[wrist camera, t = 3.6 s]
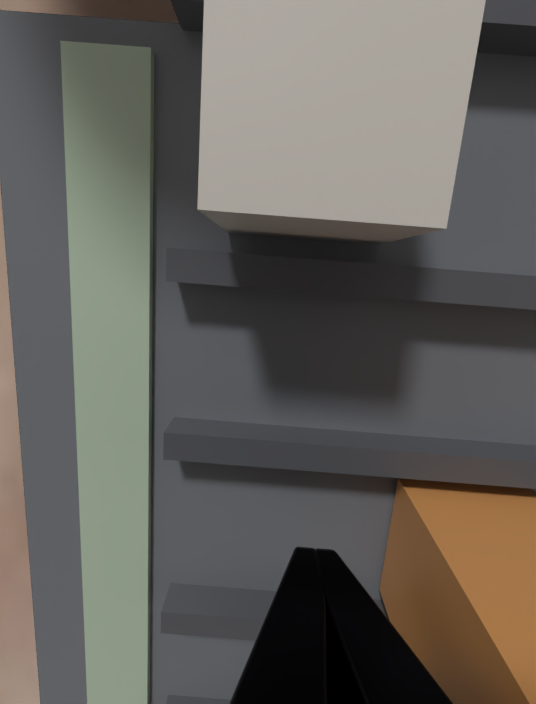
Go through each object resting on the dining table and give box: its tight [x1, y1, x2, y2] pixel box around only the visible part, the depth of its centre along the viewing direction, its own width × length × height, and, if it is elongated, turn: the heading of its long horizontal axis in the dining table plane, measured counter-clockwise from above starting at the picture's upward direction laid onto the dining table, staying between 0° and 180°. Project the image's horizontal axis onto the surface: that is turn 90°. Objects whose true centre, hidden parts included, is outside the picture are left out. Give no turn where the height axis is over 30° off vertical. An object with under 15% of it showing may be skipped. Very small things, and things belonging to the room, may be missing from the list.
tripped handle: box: [379, 478, 536, 704], centre depth 7 cm, size 3×3×4 cm
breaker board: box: [0, 0, 536, 704], centre depth 8 cm, size 20×21×5 cm
